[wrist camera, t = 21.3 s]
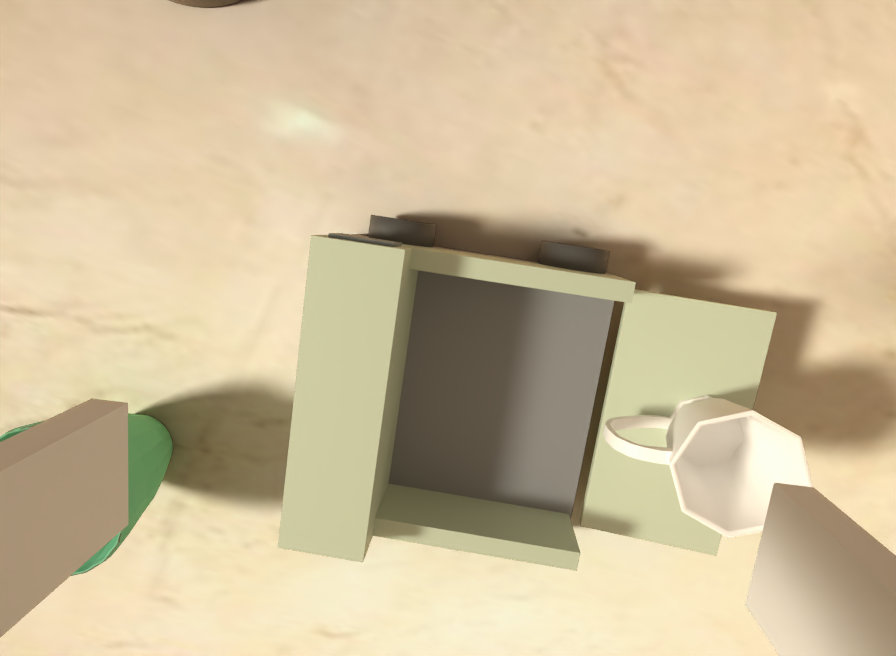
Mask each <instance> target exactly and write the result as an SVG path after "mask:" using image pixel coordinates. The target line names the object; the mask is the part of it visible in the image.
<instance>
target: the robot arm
mask: <svg viewBox="0 0 896 656" xmlns="http://www.w3.org/2000/svg"><path fill="white" fill-rule="evenodd" d="M169 1H172V2H175V3H178V4H182V5H187V6H193V7H217V6H224V5H228V4H232V3H235V2H238V1H241V0H169ZM127 525H128V403H123V402H115V401H107V400H99V399H90V400H88V401H86V402H84V403H82V404H79V405H77V406H75V407H73V408H71V409H69V410H67V411H65V412H63V413H61V414H58V415H56V416H54V417H52V418H50V419H48V420H46V421H44V422H42V423H40V424H37V425H35V426H33V427H31V428H29V429H27V430H25V431H23V432H21V433H19V434H17V435H14V436H12V437H10V438H8V439H6V440H4V441H2V442H0V637H1V636H3V635H4V634H5V633H6V632H7V631H8V630H9V629H11V628H12V627H13V626H14V625H15V624H16V623H17V622H18V621H20V620H21V619H22V618H23V617H24V616H25V615H26V614H28V613H29V612H30V611H31V610H32V609H33V608H34V607H35V606H37V605H38V604H39V603H40V602H41V601H42V600H43V599H45V598H46V597H47V596H48V595H49V594H50V593H51V592H53V591H54V590H55V589H56V588H57V587H58V586H59V585H60V584H62V583H63V582H64V581H65V580H66V579H67V578H68V577H70V576H71V575H72V574H73V573H74V572H75V571H76V570H77V569H79V568H80V567H81V566H82V565H83V564H84V563H85V562H87V561H88V560H89V559H90V558H91V557H92V556H93V555H94V554H96V553H97V552H98V551H99V550H100V549H101V548H102V547H104V546H105V545H106V544H107V543H108V542H109V541H110V540H111V539H113V538H114V537H115V536H116V535H117V534H118V533H119V532H121V531H122V530H123V529H124V528H125V527H126V526H127ZM745 606H746V607H747V609H748V610H749V612H750V613H751V615H752V616H753V618H754V619H755V621H756V622H757V624H758V625H759V627H760V628H761V630H762V631H763V633H764V634H765V636H766V637H767V639H768V640H769V642H770V643H771V645H772V646H773V648H774V649H775V651H776V652H777V654H778V655H779V656H896V556H895V555H894V554H893V553H892V552H891V551H889V550H888V549H887V548H886V547H885V546H883V545H882V544H881V543H880V542H879V541H877V540H876V539H875V538H874V537H873V536H871V535H870V534H869V533H868V532H867V531H865V530H864V529H863V528H862V527H861V526H859V525H858V524H857V523H856V522H855V521H853V520H852V519H851V518H850V517H848V516H847V515H846V514H845V513H844V512H842V511H841V510H840V509H839V508H838V507H836V506H835V505H834V504H833V503H832V502H830V501H829V500H828V499H827V498H826V497H824V496H823V495H822V494H821V493H820V492H818V491H817V490H816V489H815V488H814V487H807V486H799V485H791V484H783V483H774V485H773V489H772V493H771V497H770V502H769V506H768V510H767V514H766V518H765V523H764V527H763V531H762V535H761V540H760V544H759V548H758V552H757V557H756V561H755V565H754V569H753V573H752V578H751V582H750V586H749V590H748V595H747V599H746V603H745Z"/></svg>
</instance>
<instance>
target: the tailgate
mask: <svg viewBox="0 0 896 656" xmlns="http://www.w3.org/2000/svg"><path fill="white" fill-rule="evenodd" d="M776 315H777V313H776V312H773V311H768V310H762V309H755V308H749V307H743V306H737V305H730V304H724V303H718V302H712V301H705V300H699V299H693V298H687V297H680V296H674V295H668V294H662V293H655V292H649V291H643V290H637V289H634V294H633V299H632V303H627V302H624V306H623V311H622V316H621V320H620V325H619V330H618V335H617V340H616V345H615V350H614V355H613V360H612V365H611V370H610V375H609V380H608V385H607V389H606V394H605V399H604V404H603V409H602V414H601V419H600V424H599V429H598V434H597V439H596V444H595V449H594V454H593V458H592V463H591V468H590V473H589V478H588V483H587V488H586V493H585V498H584V503H583V508H582V513H581V518H580V524H581V526H583V527H588V528H592V529H597V530H601V531H606V532H610V533H615V534H620V535H624V536H629V537H633V538H638V539H642V540H647V541H651V542H656V543H660V544H665V545H669V546H674V547H678V548H683V549H687V550H692V551H696V552H701V553H705V554H710V555H714V556H716V555H717V551H718V547H719V543H720V539H721V534H720V533H718V532H716V531H715V530H713V529H711V528H709V527H708V526H706V525H704V524H702V523H701V522H699V521H697V520H695V519H694V518H692V517H690V516H688V515H687V514H685V513H683V512H682V511H681V507H680V503H679V499H678V496H677V492H676V488H675V484H674V480H673V477H672V473H671V469H670V465H667V464H658V463H653V462H647V461H642V460H639V459H635V458H632V457H629V456H627V455H625V454H623V453H621V452H619V451H617V450H615V449H613V448H612V447H611V446H610V445H609V444H608V443H607V442H606V440H605V438H604V436H603V433H604V426H605V423H606V421H607V420H608V419H611V418H615V417H622V416H635V415H659V416H667V417H669V416H670V415H671V413H672V412H673V410H674V409H675V407H676V406H677V404H678V403H679V401H680V400H685V399H689V398H694V397H698V396H702V395H708V396H710V397H712V398H721V399H725V400H728V401H730V402H733V403H735V404H738V405H740V406H743V407H746V408H749V409H751V410H753V407H754V403H755V399H756V395H757V391H758V387H759V383H760V379H761V375H762V371H763V367H764V363H765V359H766V355H767V351H768V347H769V343H770V339H771V335H772V331H773V327H774V323H775V319H776ZM615 432H616V433H617V434H618V435H619V436H621V437H623V438H625V439H627V440H629V441H632V442H634V443H637V444H640V445H644V446H655V447H667V443H666V433H667V429H662V428H633V429H623V430H617V431H615Z"/></svg>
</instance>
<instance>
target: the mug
mask: <svg viewBox="0 0 896 656" xmlns="http://www.w3.org/2000/svg"><path fill="white" fill-rule="evenodd" d="M42 422H44V421H42ZM42 422H37V423H33V424H29V425H25V426H21V427H18V428H15V429H13V430H10V431H8V432H6V433H5V434H3V435H2V436H0V442H2V441H4V440H6V439H8V438H10V437H12V436H14V435H17V434H19V433H21V432H23V431H25V430H27V429H29V428H31V427H33V426H35V425H37V424H40V423H42ZM172 452H173V442H172V439H171V436H170V433H169V432H168V430H167V429H166V427H165V426H164V425H163V424H162V423H160V422H159V421H158V420H156V419H155V418H153V417H150V416H148V415H139V414H128V525H127V526H126V527H125V528H124V529H123V530H122V531H121V532H119V533H118V534H117V535H116V536H115V537H114V538H113V539H111V540H110V541H109V542H108V543H107V544H106V545H105V546H104V547H102V548H101V549H100V550H99V551H98V552H97V553H96V554H94V555H93V556H92V557H91V558H90V559H89V560H88V561H87V562H85V563H84V564H83V565H82V566H81V567H80V568H79V569H77V570H76V571H75V572H74V573H73V574H72V575H71V576H73V575H77V574H82V573H86V572H88V571H90V570H91V569H93V568H94V567H96V566H98V565H99V564H101V563H103V562H104V561H106V560H107V559H108V558H109V557H110V556H111V555H112V554H113V553H114V552H115V551H116V550H117V548H118V547H119V546H120V545H121V543H122V542H123V541H124V540H125V538H126V537H127V536H128V534H129V533H130V531H131V530H132V529H133V527H134V525H135V524H136V522H137V521H138V519H139V518H140V516H141V515H142V513H143V512H144V511H145V509H146V508H147V506H148V505H149V504H150V502H151V501H152V499H153V498H154V496H155V494H156V492H157V490H158V488H159V486H160V484H161V482H162V480H163V478H164V476H165V473H166V470H167V467H168V464H169V461H170V458H171V455H172Z"/></svg>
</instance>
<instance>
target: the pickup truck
mask: <svg viewBox="0 0 896 656" xmlns="http://www.w3.org/2000/svg"><path fill="white" fill-rule="evenodd" d="M435 232H436V225H435V224H428V223H422V222H415V221H408V220H402V219H395V218H389V217H382V216H375V215H371V219H370V227H369V235H368V236H364V235H358V234H351V235H349V234H343V233H329V235H311V242H310V251H309V260H308V270H307V279H306V289H305V298H304V307H303V317H302V326H301V335H300V345H299V354H298V363H297V373H296V382H295V391H294V401H293V410H292V420H291V429H290V438H289V448H288V457H287V466H286V476H285V485H284V494H283V504H282V513H281V522H280V532H279V541H278V548H283V549H289V550H294V551H300V552H306V553H312V554H317V555H323V556H329V557H334V558H340V559H346V560H352V561H357V562H363V561H364V558H365V555H366V553H367V550H368V547H369V544H370V542H371V539H372V536H378V537H384V538H390V539H396V540H402V541H407V542H413V543H419V544H425V545H431V546H436V547H442V548H448V549H454V550H460V551H465V552H471V553H477V554H483V555H488V556H494V557H500V558H506V559H512V560H517V561H523V562H529V563H535V564H541V565H546V566H552V567H558V568H564V569H570V570H575V571H577V567H578V562H579V557H580V550H579V547H578V543H577V540H576V537H575V533H574V530H573V526H572V523H571V515H572V510H573V505H574V500H575V495H576V490H577V485H578V480H579V475H580V470H581V465H582V460H583V455H584V450H585V445H586V440H587V435H588V430H589V425H590V420H591V415H592V410H593V405H594V400H595V395H596V390H597V385H598V380H599V375H600V370H601V365H602V360H603V355H604V350H605V345H606V340H607V335H608V330H609V325H610V320H611V315H612V310H613V305H614V301H620V302H627V303H632V299H633V294H634V289H635V284H636V282H633V281H630V280H627V279H624V278H621V277H619V276H617V275H614V274H611V273H607V272H606V267H607V262H608V257H609V252H610V251H607V250H600V249H593V248H587V247H580V246H574V245H567V244H560V243H554V242H547V241H542V246H541V251H540V257H539V262H535V261H528V260H521V259H515V258H508V257H502V256H495V255H489V254H482V253H476V252H469V251H462V250H456V249H449V248H443V247H436V246H434V239H435Z"/></svg>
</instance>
